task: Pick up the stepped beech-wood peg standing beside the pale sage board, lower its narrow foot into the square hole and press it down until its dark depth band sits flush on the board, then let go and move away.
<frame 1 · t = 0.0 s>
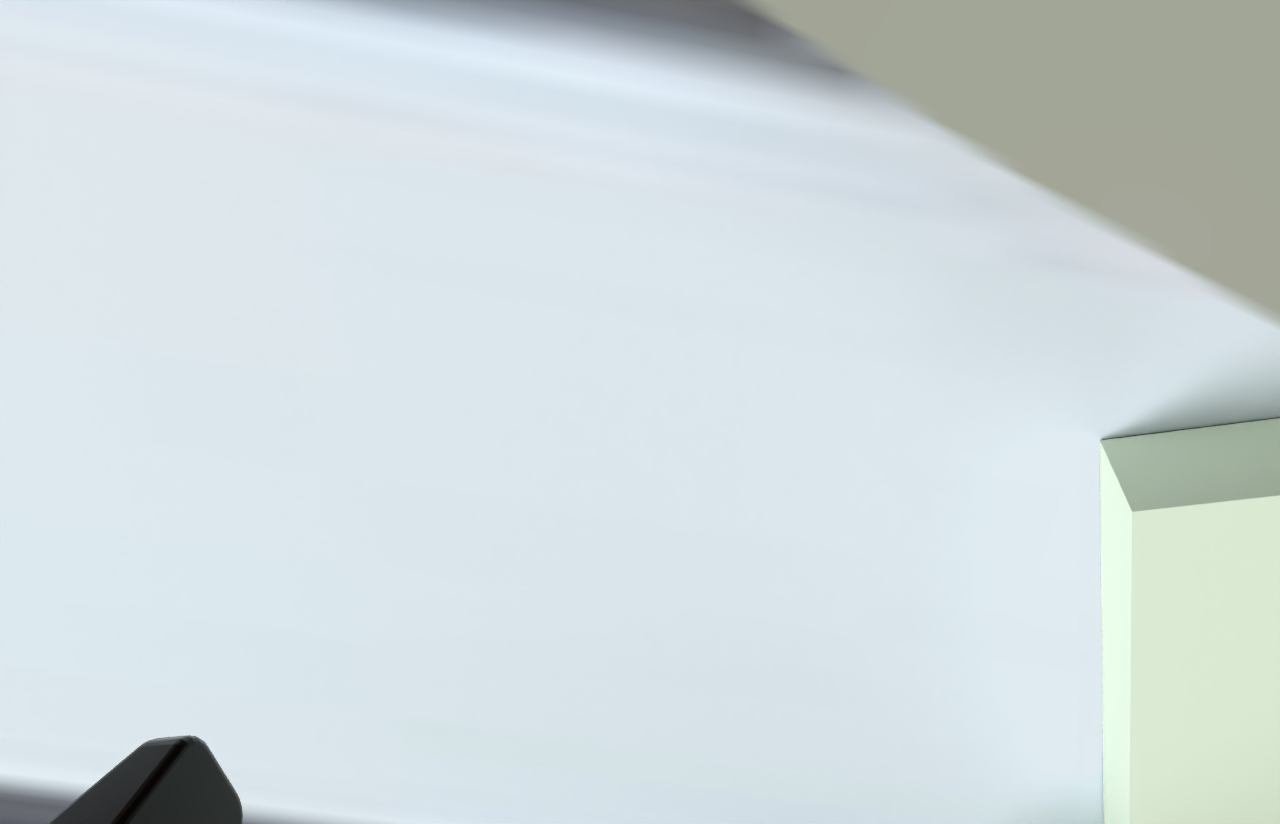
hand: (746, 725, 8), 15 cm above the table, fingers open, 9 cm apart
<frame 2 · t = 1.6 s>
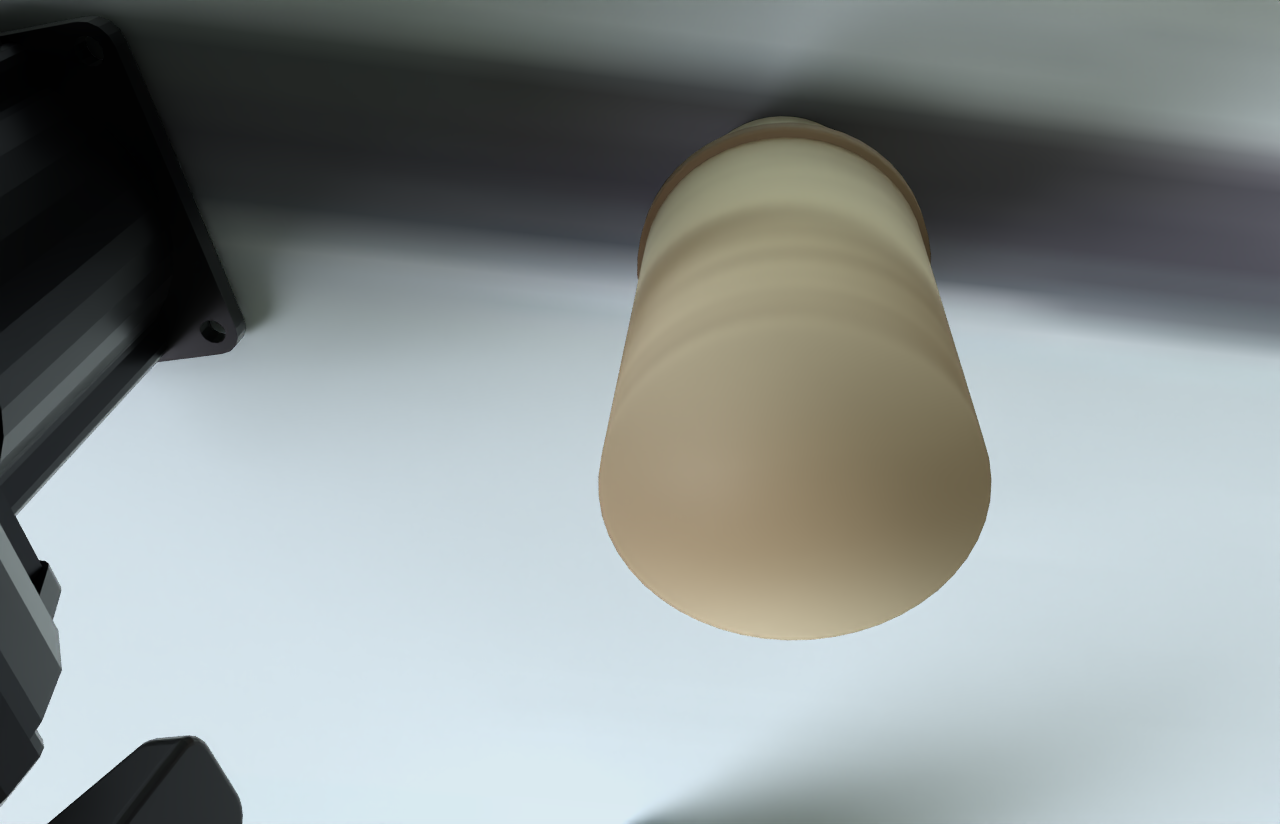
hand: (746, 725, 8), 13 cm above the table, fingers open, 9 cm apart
peg: (779, 203, 20), on the table
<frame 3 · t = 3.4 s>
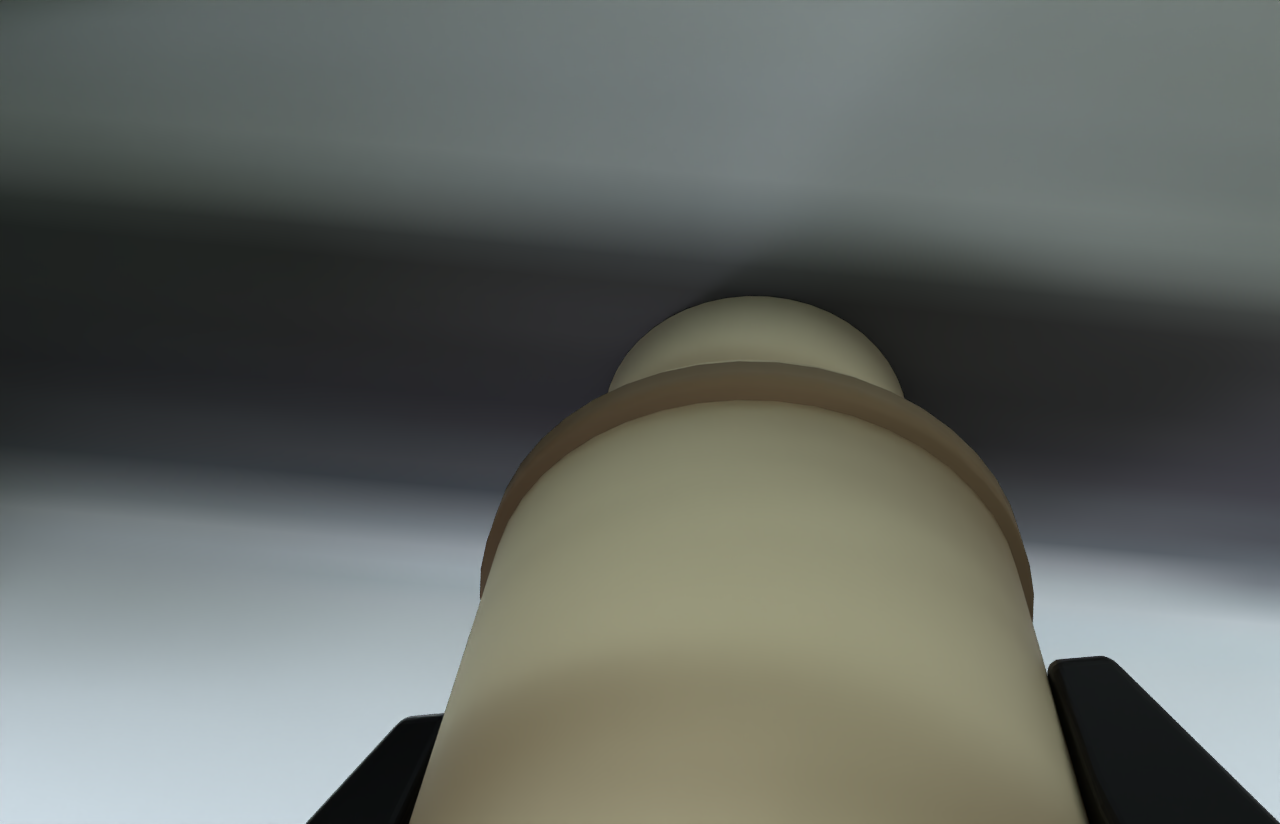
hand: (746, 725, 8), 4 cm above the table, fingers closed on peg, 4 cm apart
peg: (753, 431, 12), on the table, touching gripper
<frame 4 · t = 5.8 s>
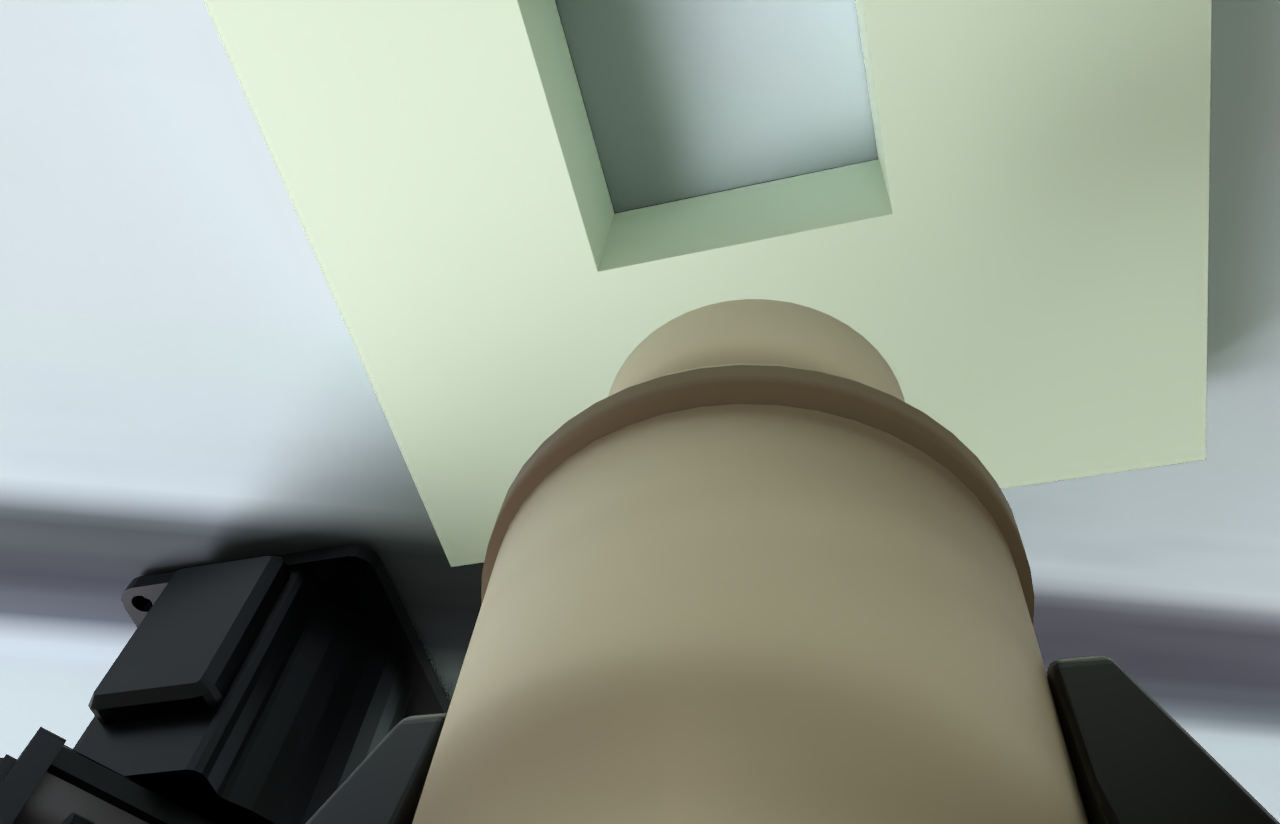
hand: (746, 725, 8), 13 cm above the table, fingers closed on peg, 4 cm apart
peg: (753, 433, 12), point 9 cm above the table, touching gripper
board: (714, 54, 19), on the table
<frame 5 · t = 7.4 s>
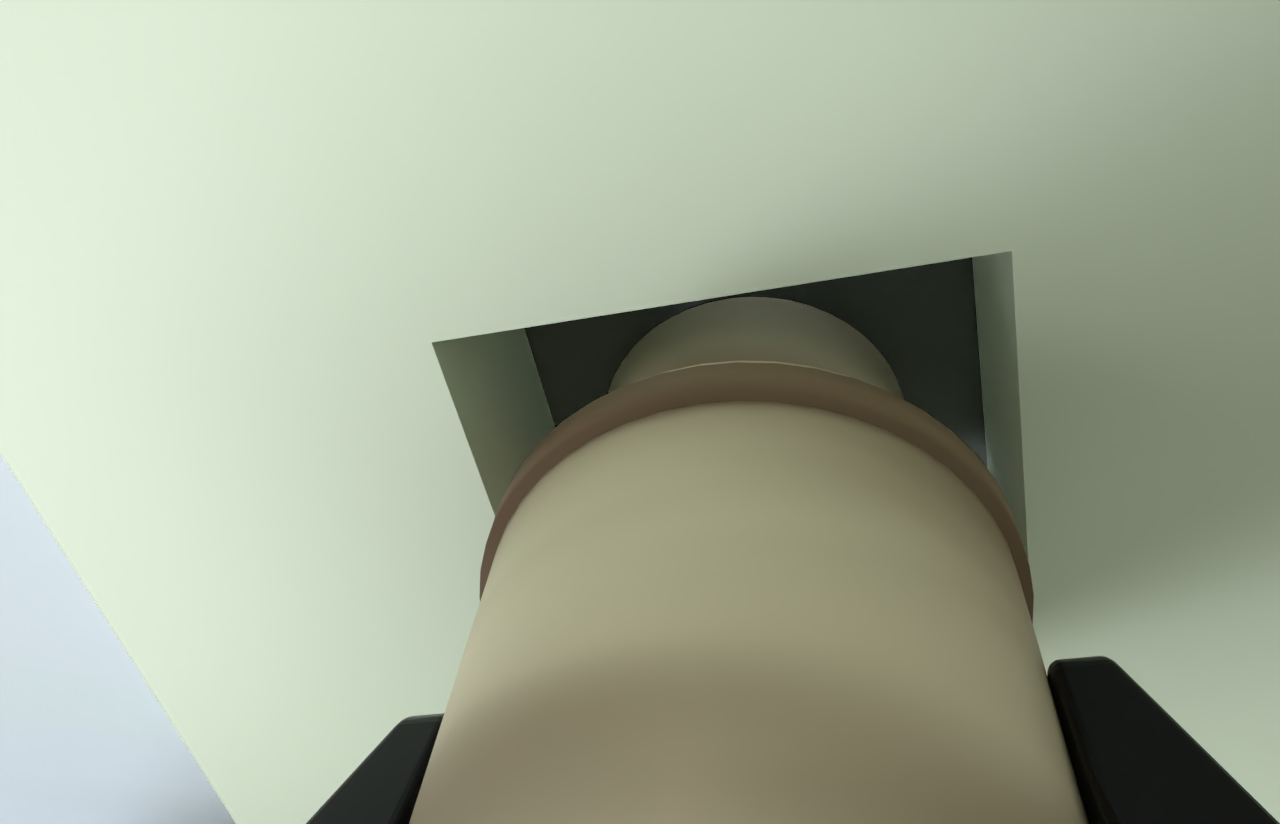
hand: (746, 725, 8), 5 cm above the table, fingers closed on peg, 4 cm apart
peg: (752, 432, 12), point 1 cm above the table, touching gripper
board: (757, 387, 12), on the table
when the fingers open (4 cm above the table, at t = 8.8 s): peg stays where it is, resting in board.
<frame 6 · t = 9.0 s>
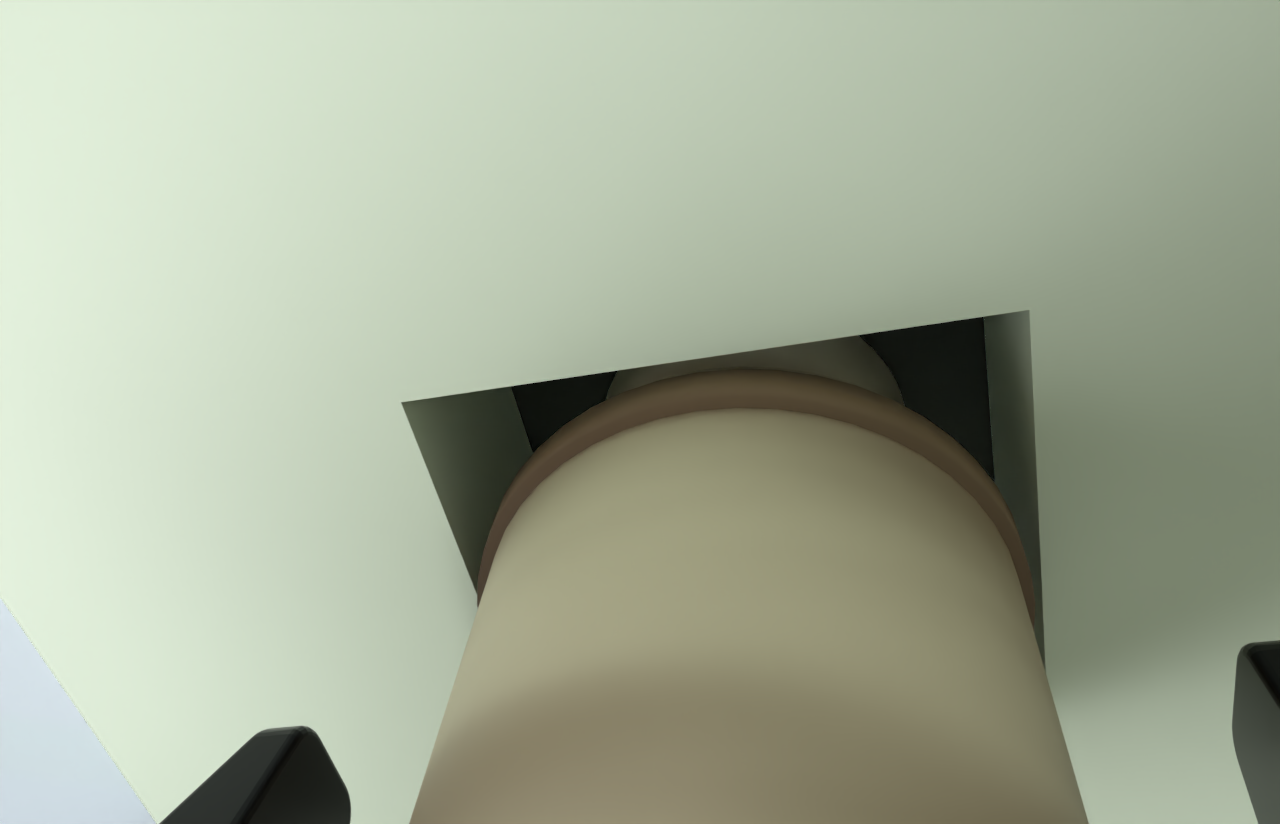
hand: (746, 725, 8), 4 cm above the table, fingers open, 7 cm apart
peg: (752, 436, 12), resting in board
board: (753, 435, 12), on the table
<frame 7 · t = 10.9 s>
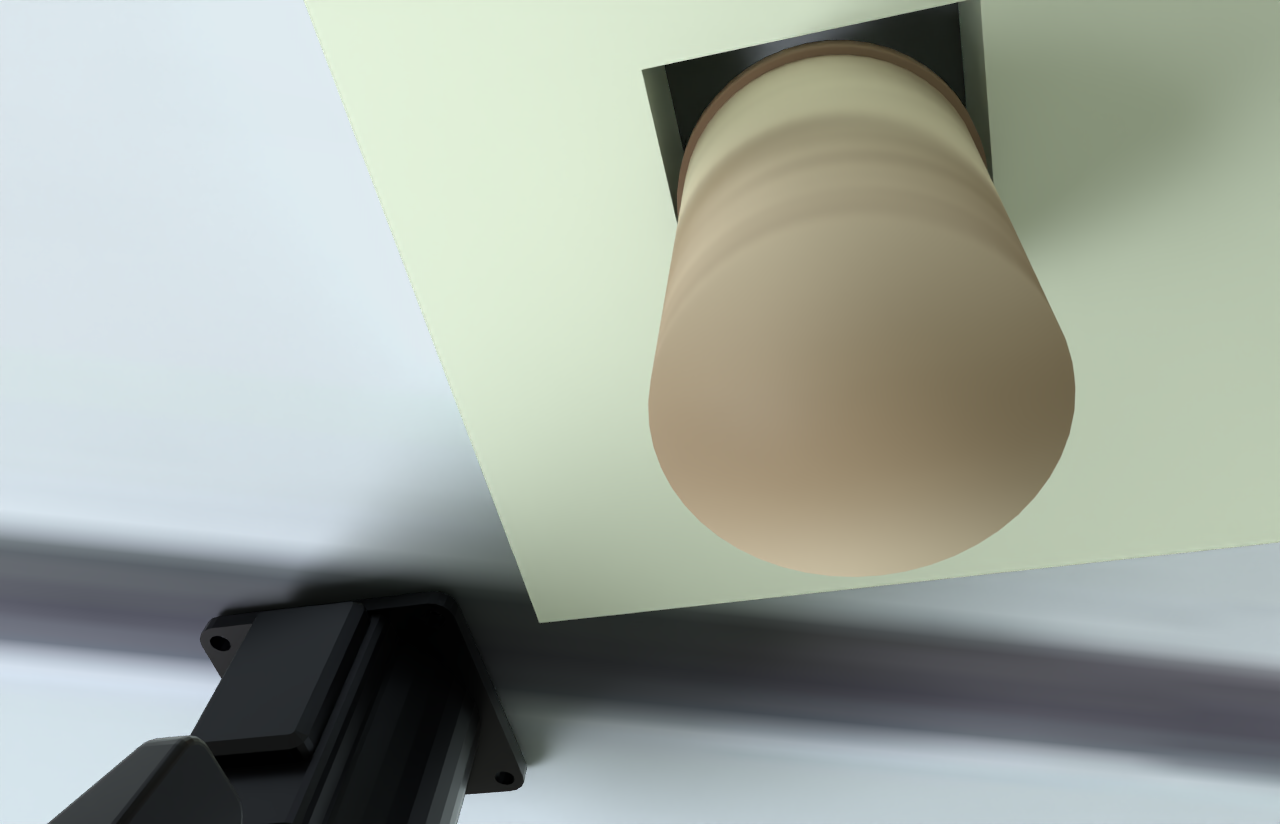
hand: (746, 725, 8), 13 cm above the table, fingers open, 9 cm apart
peg: (821, 139, 19), resting in board
board: (822, 137, 19), on the table
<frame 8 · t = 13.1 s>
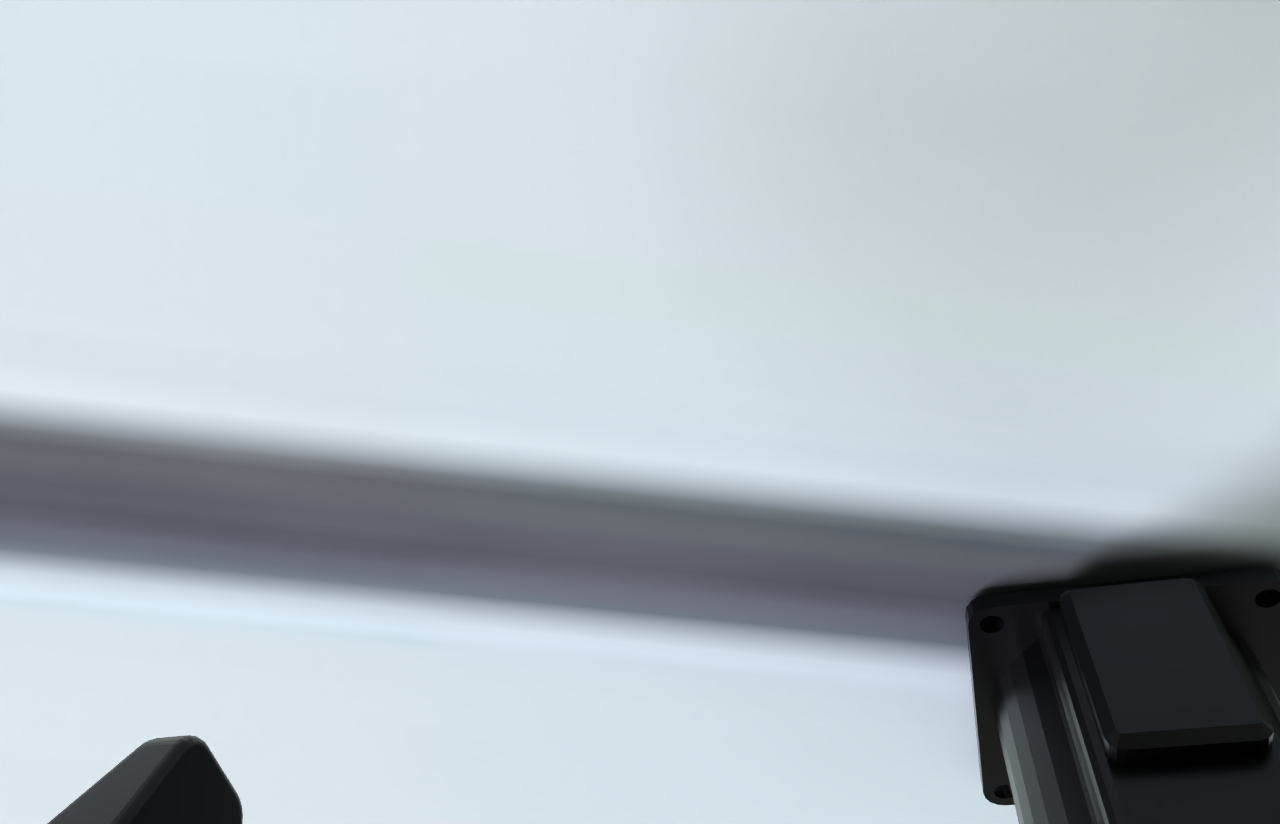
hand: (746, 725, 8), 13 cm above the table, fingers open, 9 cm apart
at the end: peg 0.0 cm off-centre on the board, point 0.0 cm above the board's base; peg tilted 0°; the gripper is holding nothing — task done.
